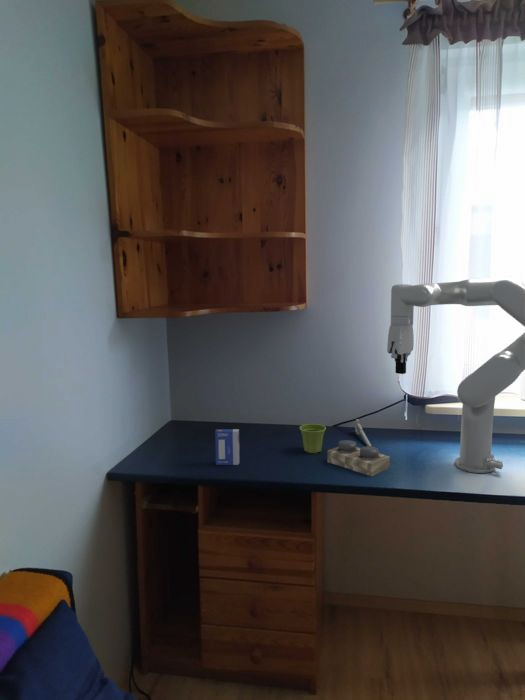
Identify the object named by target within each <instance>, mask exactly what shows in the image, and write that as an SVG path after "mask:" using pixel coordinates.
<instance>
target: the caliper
mask: <svg viewBox="0 0 525 700" xmlns="http://www.w3.org/2000/svg"><path fill="white" fill-rule="evenodd" d="M354 425H355V426H354V428H355V429H354V433H355V432H356V433H357V434H356V433H355V434H356V435H358V436H360V437H361V438H362V439H363V441H364V443H365V445H366V446H371V447H373V445H372V444H371V442H370V440H369V439H368V437H367V435H366V433H365V432H364V430H363V427H362V425H361V423H360V419H359V418H358V419H357V418H356V419H355V424H354Z"/></svg>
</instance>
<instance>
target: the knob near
mask: <svg viewBox="0 0 525 700" xmlns="http://www.w3.org/2000/svg"><path fill="white" fill-rule="evenodd" d="M359 448H360V456H362V458H363V459H366V460H369V461H373V460H375V459H377V457H378V456H379V454H380V450H379V448H378V447H376V446H372V447H371V446H367V445H366V446H361V447H359Z"/></svg>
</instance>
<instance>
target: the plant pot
mask: <svg viewBox="0 0 525 700" xmlns="http://www.w3.org/2000/svg"><path fill="white" fill-rule="evenodd" d="M299 430H300V432H301V437H302V442H303V450H304V452H307V453H309V454H318V452H319V453H320V452H321V451H322V446H323V439H324V434H325V432H326V430H327V427H326V426H325V425H323V424H319V423H318V424H317V423H306V424H302V425H300V426H299Z"/></svg>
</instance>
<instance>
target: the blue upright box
mask: <svg viewBox="0 0 525 700" xmlns="http://www.w3.org/2000/svg"><path fill="white" fill-rule="evenodd" d="M214 434H215V435H214V436H215V437H214V438H215V466H238V465H239V464H240V429H239V428H238V429H237V428H234V429H233V428H232V429H230V428H228V429H227V428H225V429H220V428H219V429H215V431H214Z"/></svg>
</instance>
